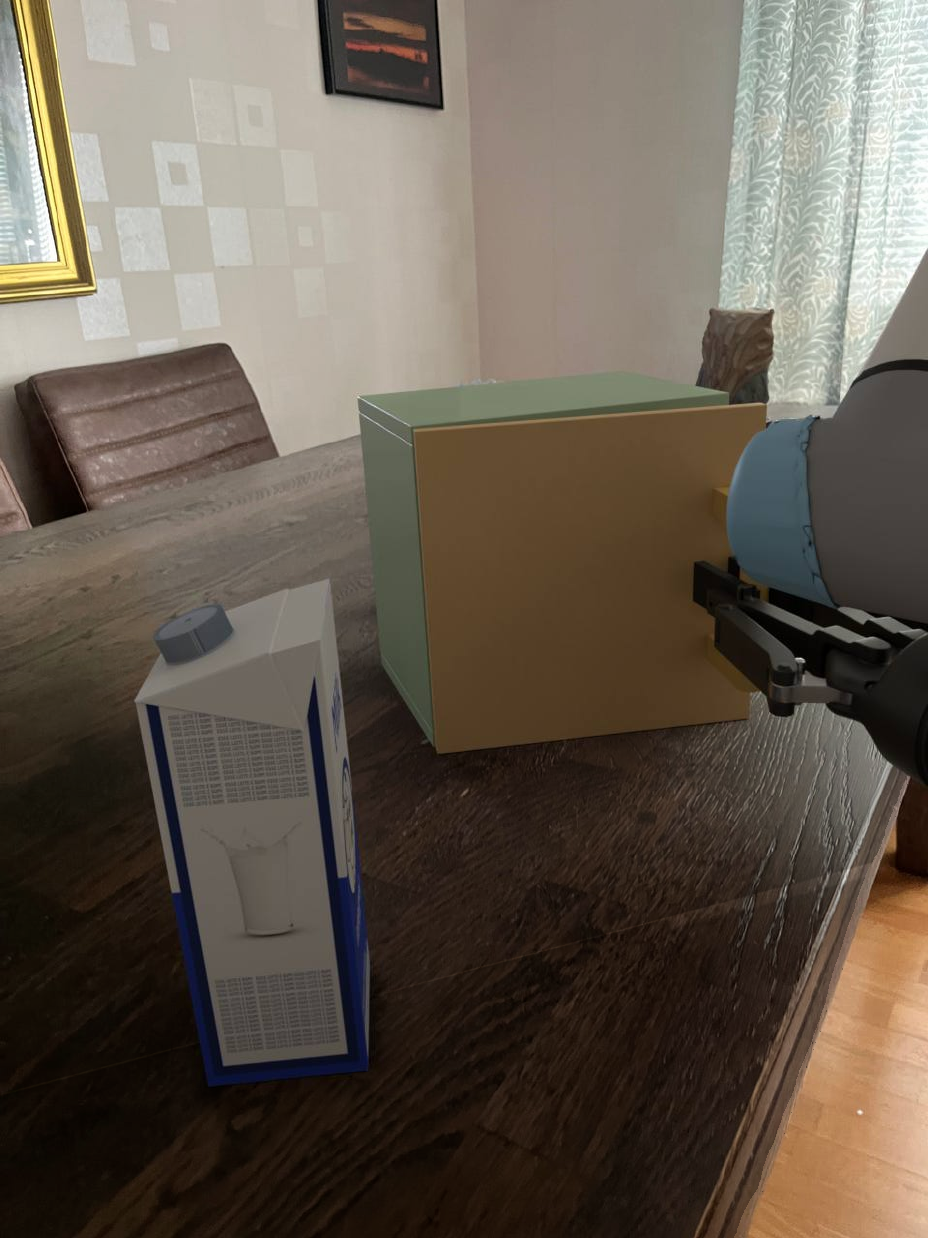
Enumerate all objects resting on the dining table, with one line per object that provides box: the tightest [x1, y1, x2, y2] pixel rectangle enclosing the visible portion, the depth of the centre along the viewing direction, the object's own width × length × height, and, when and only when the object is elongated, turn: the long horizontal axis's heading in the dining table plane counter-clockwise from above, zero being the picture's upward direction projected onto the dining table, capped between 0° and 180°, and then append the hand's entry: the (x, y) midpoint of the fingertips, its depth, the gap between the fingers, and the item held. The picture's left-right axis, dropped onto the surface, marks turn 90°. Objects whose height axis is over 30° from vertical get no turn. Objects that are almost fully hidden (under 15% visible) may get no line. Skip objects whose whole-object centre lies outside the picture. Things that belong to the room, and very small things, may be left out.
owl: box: [694, 306, 776, 405], centre depth 183 cm, size 13×13×20 cm
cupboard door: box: [413, 403, 770, 755], centre depth 61 cm, size 7×22×22 cm, turn 98°
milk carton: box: [133, 578, 371, 1088], centre depth 40 cm, size 7×7×20 cm
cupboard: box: [357, 370, 729, 748], centre depth 74 cm, size 16×22×22 cm
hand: (715, 578), depth 64 cm, fingers closed on cupboard door, 2 cm apart
